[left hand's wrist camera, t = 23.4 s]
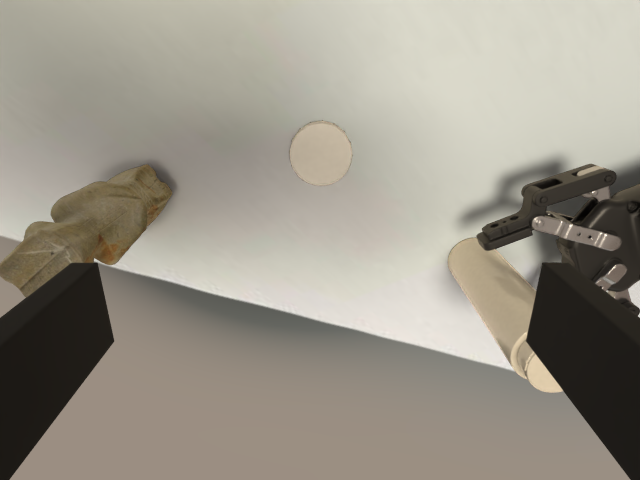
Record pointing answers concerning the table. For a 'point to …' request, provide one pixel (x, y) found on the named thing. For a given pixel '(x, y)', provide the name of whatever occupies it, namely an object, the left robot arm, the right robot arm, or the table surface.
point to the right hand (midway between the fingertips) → (493, 286)
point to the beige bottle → (501, 306)
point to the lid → (320, 153)
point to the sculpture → (87, 228)
